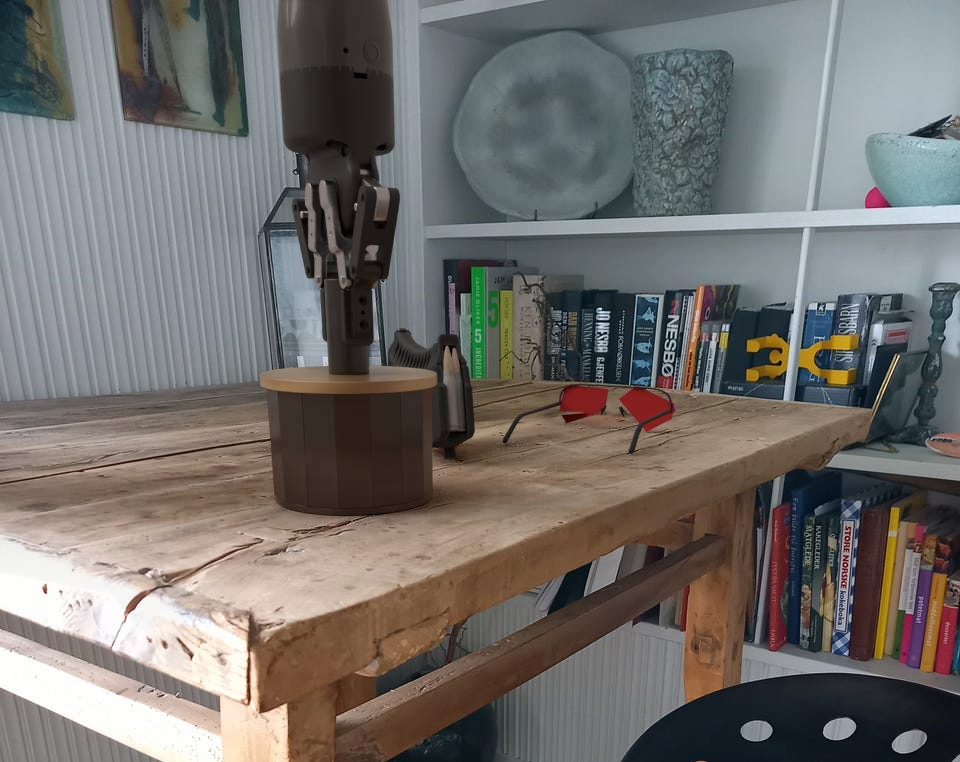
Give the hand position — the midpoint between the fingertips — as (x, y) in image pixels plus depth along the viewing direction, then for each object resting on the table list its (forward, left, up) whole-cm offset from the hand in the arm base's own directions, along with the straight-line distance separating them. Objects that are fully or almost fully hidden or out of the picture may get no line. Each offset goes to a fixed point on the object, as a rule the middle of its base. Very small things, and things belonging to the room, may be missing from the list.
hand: (348, 342), depth 68 cm
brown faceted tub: (0, 0, -11) cm, 11 cm away
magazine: (+18, +22, -12) cm, 31 cm away
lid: (0, 0, -3) cm, 3 cm away
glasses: (+34, +14, -12) cm, 39 cm away
